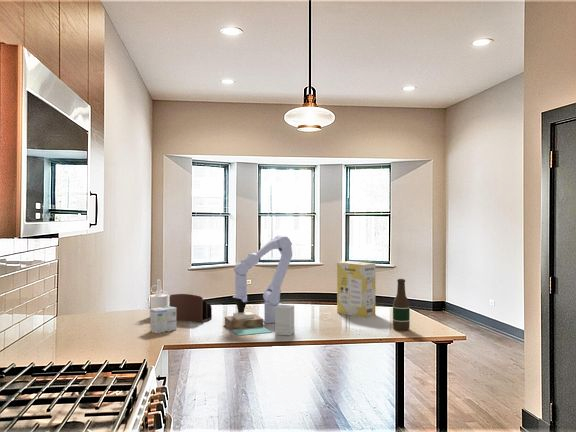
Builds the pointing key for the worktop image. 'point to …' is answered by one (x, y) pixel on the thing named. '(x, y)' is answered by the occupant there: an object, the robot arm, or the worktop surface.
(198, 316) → the letter holder
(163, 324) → the light bulb box
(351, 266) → the pasta box
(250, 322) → the board
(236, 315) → the cream white block
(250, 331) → the mat
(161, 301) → the white necked piece
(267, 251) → the robot arm
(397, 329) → the beer bottle
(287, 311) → the supplement box
